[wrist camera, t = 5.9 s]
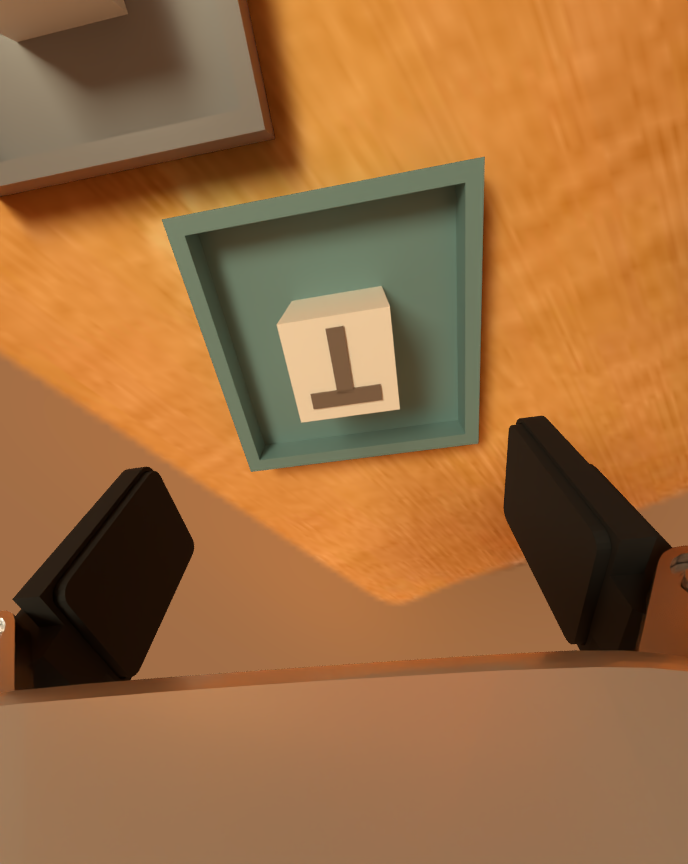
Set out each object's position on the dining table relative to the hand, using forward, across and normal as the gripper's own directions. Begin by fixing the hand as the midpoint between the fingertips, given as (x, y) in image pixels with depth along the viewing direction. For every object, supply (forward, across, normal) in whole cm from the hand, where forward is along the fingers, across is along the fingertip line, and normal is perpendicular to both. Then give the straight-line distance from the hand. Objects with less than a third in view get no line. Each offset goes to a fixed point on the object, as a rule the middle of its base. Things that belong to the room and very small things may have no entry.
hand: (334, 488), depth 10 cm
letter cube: (+14, 0, 0) cm, 14 cm away
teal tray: (+14, 0, 0) cm, 14 cm away
